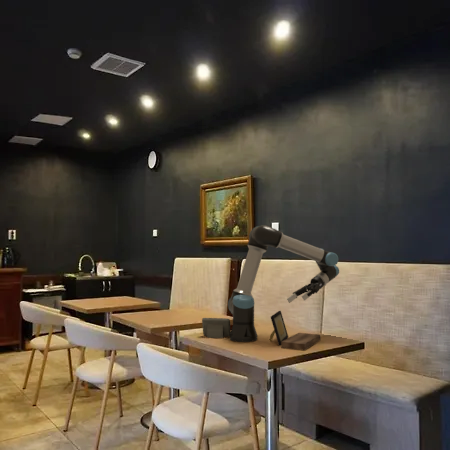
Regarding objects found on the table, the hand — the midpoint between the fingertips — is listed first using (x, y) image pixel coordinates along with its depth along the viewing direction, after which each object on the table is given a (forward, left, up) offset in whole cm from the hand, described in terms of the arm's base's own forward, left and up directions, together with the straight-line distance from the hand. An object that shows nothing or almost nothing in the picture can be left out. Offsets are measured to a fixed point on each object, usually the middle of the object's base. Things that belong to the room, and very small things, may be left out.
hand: (295, 299), depth 244 cm
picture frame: (-6, -14, -21) cm, 26 cm away
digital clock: (-40, -18, -21) cm, 49 cm away
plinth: (+8, -14, -21) cm, 27 cm away
